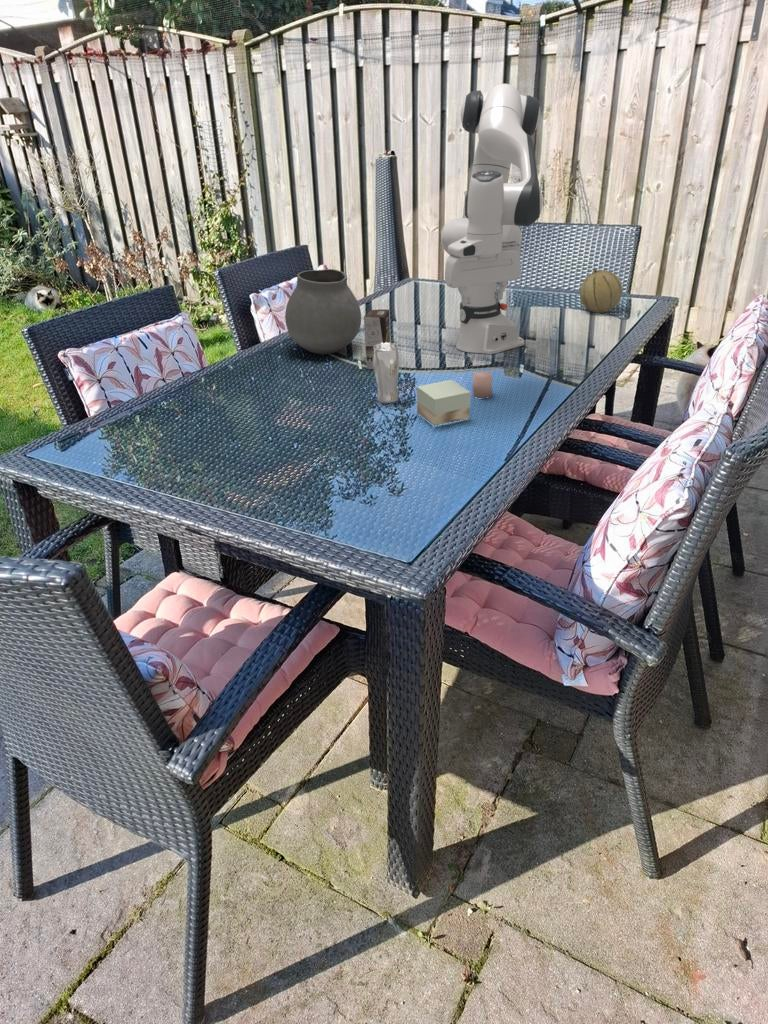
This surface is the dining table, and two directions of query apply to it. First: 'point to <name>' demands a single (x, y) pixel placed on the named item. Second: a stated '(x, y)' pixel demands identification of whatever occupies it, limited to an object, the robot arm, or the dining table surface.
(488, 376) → the rose cylinder
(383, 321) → the coffee box
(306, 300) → the ceramic pot
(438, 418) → the tower base
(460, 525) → the dining table surface
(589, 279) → the cantaloupe
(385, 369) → the beer glass
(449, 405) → the tower top
